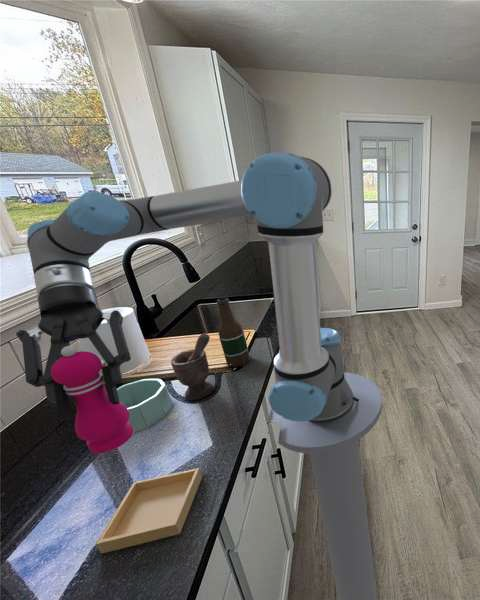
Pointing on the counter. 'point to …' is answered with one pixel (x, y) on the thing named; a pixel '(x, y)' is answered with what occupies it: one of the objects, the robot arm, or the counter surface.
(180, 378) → the mortar and pestle
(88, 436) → the pepper mill
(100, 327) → the canister
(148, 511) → the tray
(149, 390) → the green faceted bowl
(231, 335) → the beer bottle
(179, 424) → the counter surface
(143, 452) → the counter surface
